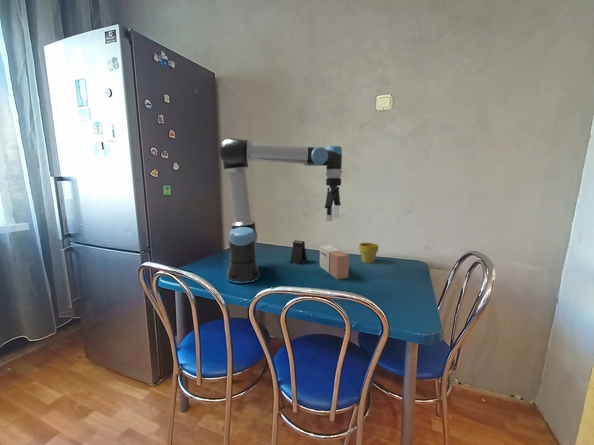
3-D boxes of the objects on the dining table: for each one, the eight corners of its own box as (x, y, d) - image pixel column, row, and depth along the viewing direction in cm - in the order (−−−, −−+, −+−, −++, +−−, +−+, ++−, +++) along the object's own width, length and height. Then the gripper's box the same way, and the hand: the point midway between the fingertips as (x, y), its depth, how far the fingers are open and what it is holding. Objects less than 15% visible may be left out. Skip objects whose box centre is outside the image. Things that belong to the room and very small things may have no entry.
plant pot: (375, 259, 163) (376, 242, 162) (379, 264, 153) (380, 247, 152) (357, 258, 164) (358, 242, 163) (359, 264, 154) (360, 246, 153)
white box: (329, 273, 139) (329, 251, 138) (319, 266, 151) (319, 246, 149) (340, 272, 141) (340, 250, 140) (330, 265, 153) (330, 245, 151)
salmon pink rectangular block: (336, 279, 132) (337, 256, 130) (329, 273, 139) (329, 252, 137) (348, 277, 134) (349, 255, 132) (340, 272, 141) (341, 250, 139)
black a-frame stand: (298, 264, 153) (298, 243, 151) (289, 263, 156) (289, 241, 154) (307, 260, 161) (307, 240, 159) (298, 259, 164) (298, 238, 162)
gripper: (334, 178, 130) (333, 223, 133) (346, 177, 153) (345, 216, 156) (319, 177, 133) (318, 222, 136) (332, 177, 155) (332, 215, 159)
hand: (332, 219), depth 146 cm, fingers open, 13 cm apart
